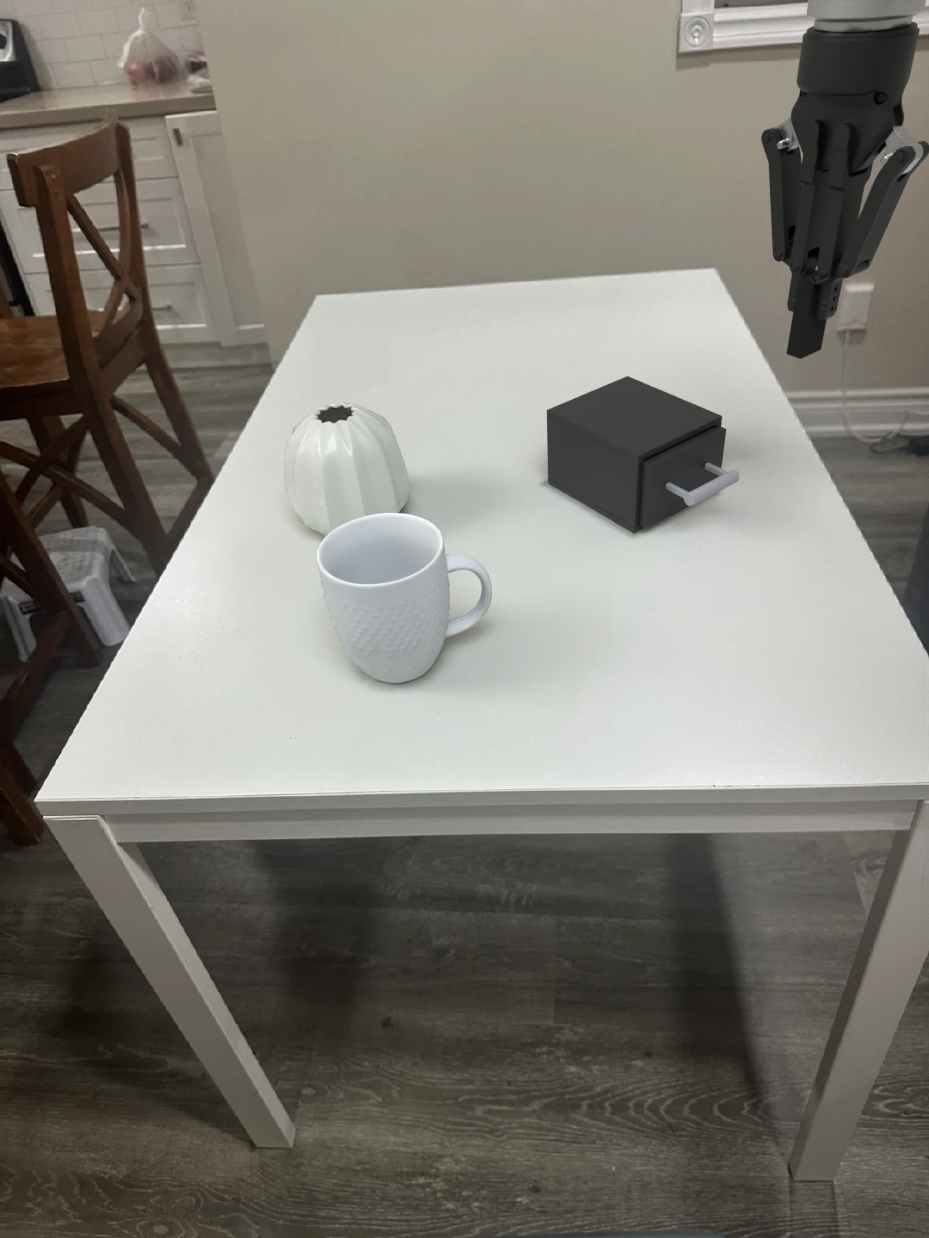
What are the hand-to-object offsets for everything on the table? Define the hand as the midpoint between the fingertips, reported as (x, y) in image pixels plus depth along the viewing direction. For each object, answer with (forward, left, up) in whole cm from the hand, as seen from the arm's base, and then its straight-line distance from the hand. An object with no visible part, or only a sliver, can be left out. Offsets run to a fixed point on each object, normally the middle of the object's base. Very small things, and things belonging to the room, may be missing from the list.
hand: (803, 351), depth 74 cm
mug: (+19, +33, -23) cm, 44 cm away
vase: (+42, +20, -23) cm, 52 cm away
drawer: (+16, -3, -22) cm, 27 cm away
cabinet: (+20, -4, -22) cm, 30 cm away
